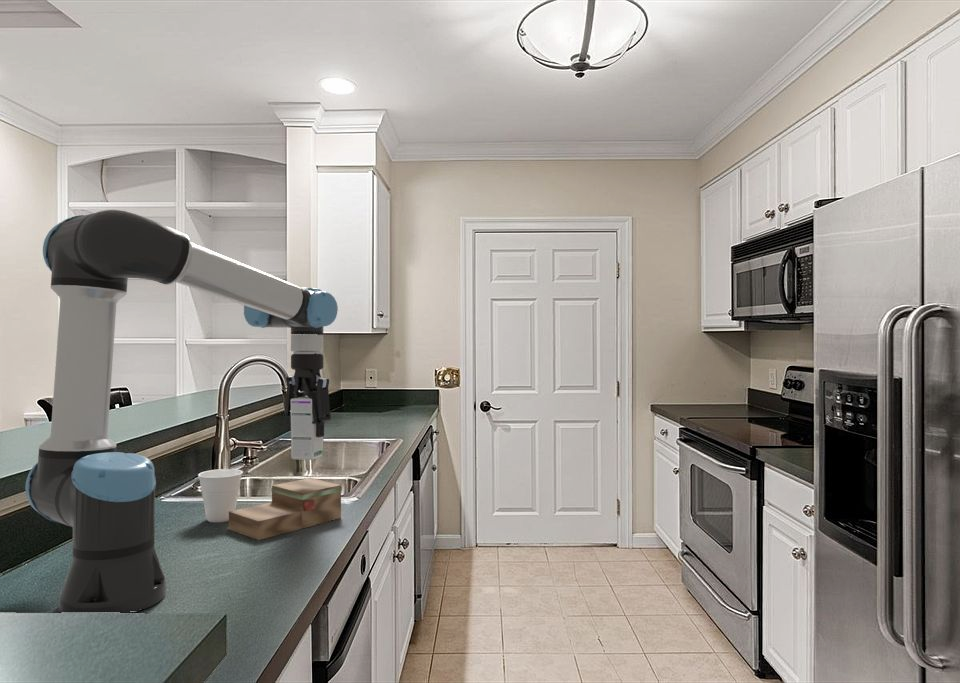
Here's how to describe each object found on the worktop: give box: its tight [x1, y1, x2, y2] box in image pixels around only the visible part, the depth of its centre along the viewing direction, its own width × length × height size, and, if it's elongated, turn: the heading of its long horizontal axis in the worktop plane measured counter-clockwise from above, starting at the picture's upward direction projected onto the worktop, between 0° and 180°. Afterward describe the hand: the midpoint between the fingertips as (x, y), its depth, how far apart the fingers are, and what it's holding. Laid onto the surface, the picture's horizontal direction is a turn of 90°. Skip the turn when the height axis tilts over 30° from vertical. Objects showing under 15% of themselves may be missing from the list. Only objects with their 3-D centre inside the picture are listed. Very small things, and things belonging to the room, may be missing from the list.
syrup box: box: [290, 395, 325, 461], centre depth 155 cm, size 6×6×14 cm
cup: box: [197, 468, 244, 524], centre depth 154 cm, size 10×10×11 cm
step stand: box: [228, 477, 343, 541], centre depth 151 cm, size 22×13×8 cm, turn 141°
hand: (307, 448), depth 155 cm, fingers closed on syrup box, 7 cm apart
